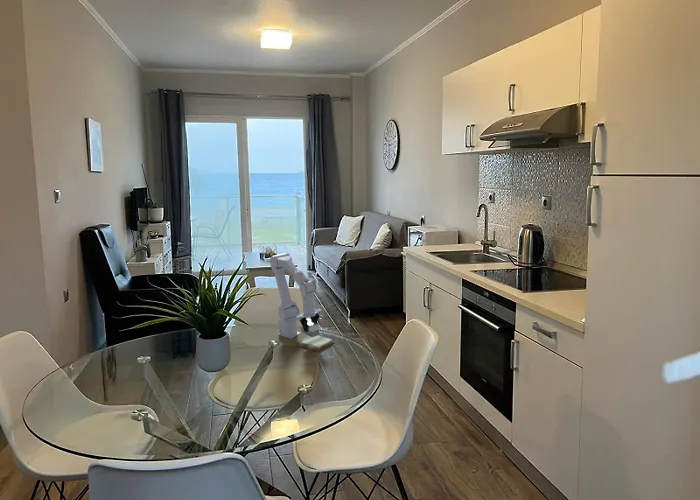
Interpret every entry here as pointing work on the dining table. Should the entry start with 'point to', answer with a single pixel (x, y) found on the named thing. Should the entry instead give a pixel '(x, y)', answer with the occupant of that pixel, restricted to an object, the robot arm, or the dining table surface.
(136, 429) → the dining table surface
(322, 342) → the stand
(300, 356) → the dining table surface
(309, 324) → the housing
